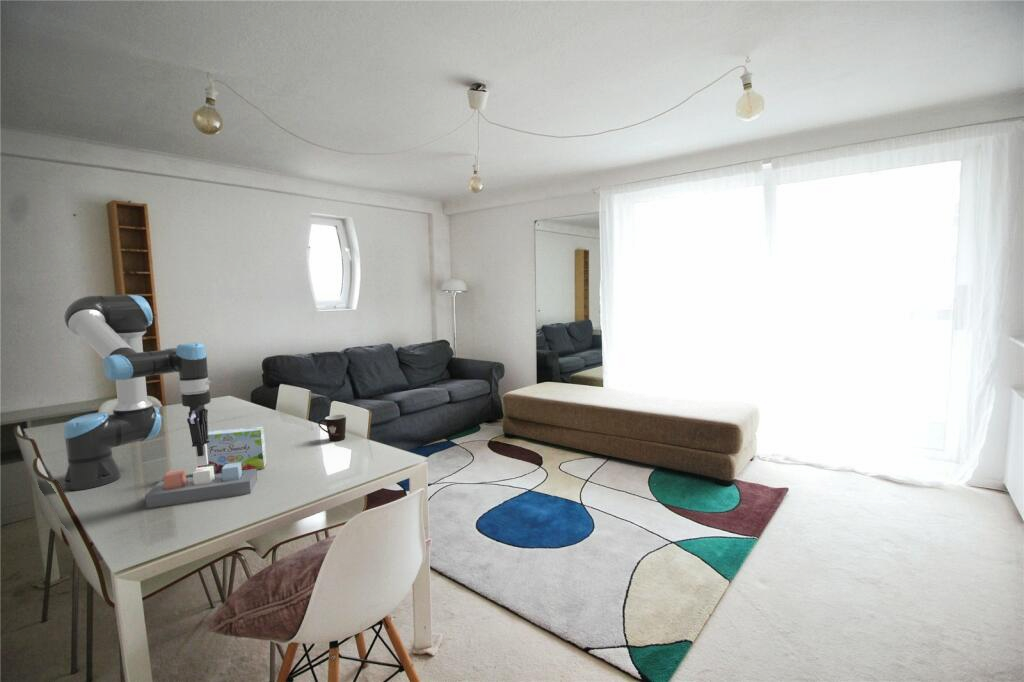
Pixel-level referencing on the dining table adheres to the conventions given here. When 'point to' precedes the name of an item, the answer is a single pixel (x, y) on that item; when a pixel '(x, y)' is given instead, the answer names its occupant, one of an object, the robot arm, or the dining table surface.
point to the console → (201, 490)
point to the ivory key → (203, 475)
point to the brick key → (174, 479)
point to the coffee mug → (335, 427)
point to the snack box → (236, 448)
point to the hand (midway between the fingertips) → (202, 464)
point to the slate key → (232, 471)
